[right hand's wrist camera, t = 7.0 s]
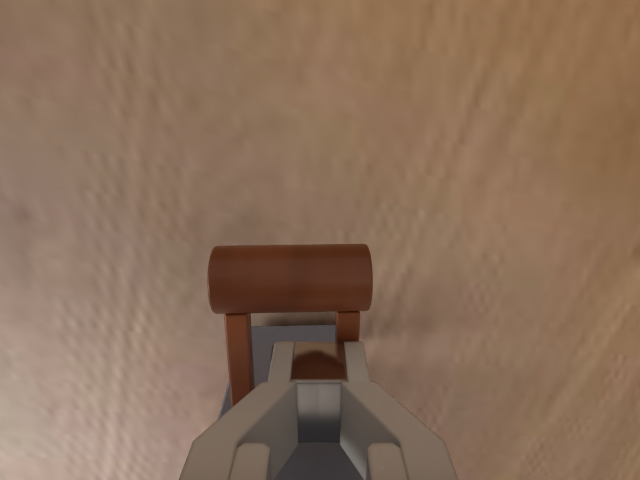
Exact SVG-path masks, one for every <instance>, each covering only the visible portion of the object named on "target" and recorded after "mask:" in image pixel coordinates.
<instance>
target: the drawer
mask: <svg viewBox="0 0 640 480" xmlns="http://www.w3.org/2000/svg"><path fill="white" fill-rule="evenodd" d="M372 290H373V275H372V262H371V255H370V251H369V248H368V246H367V245H366V244H325V245H247V246H216V247H214V248H213V250H212V252H211V255H210V259H209V265H208V297H209V302H210V306H211V309H212V311H213V312H214V313H216V314H225V316H224V320H225V332H226V344H227V357H228V369H229V383H228V386H227V389H226V393H225V396H224V400H223V403H222V407H221V410H220V413H219V417H218V419H219V418H221V417H222V416H223V415H224V414H225V413H226V412H228V411H229V410H230V409H231V408H232V407H233V406H235V405H236V404H237V403H238V402H239V401H240V400H242V399H243V398H244V397H245V396H246V395H247V394H249V393H250V392H251V391H252V390H253V389H254V388H255V387H257V386H258V385H259V384H260V383H261V382H268V376H269V371H270V365H271V360H272V355H273V349H274V344H275V343H276V341H294V342H295V341H302V342H348V341H359V328H360V312H359V311H367V310H369V308H370V306H371V301H372ZM283 312H335V325H298V326H251V315H250V313H283ZM274 480H364V479H363V477H362V476H361V475H360V473H359V472H358V470H357V469H356V467H355V466H354V464H353V463H352V461H351V460H350V458H349V457H348V456H347V454H346V453H345V451H344V450H343V448H342V447H341V445H340V443H331V442H307V443H298V446H297V447H296V449H295V450H294V452H293V453H292V455H291V456H290V457H289V459H288V460H287V462H286V463H285V465H284V466H283V468H282V469H281V470H280V472H279V473H278V475H277V476H276V478H275V479H274Z"/></svg>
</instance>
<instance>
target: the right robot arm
mask: <svg viewBox="0 0 640 480" xmlns="http://www.w3.org/2000/svg"><path fill="white" fill-rule="evenodd" d="M307 442H331V443H340V445H341V447H342V448H343V450H344V451H345V453H346V454H347V456H348V457H349V458H350V460H351V461H352V463H353V464H354V466H355V467H356V469H357V470H358V472H359V473H360V475H361V476H362V477H363V479H364V480H458V477H457V475H456V472H455V469H454V466H453V464H452V461H451V458H450V455H449V452H448V450H447V447H446V444H445V442H444V441H443V440H442V439H441V438H440V437H439V436H437V435H436V434H435V433H434V432H433V431H432V430H431V429H429V428H428V427H427V426H426V425H425V424H424V423H423V422H421V421H420V420H419V419H418V418H417V417H416V416H415V415H413V414H412V413H411V412H410V411H409V410H408V409H407V408H405V407H404V406H403V405H402V404H401V403H400V402H398V401H397V400H396V399H395V398H394V397H393V396H392V395H390V394H389V393H388V392H387V391H386V390H385V389H384V388H382V387H381V386H380V385H379V384H378V383H377V382H370V376H369V371H368V365H367V360H366V354H365V348H364V343H363V342H362V341H348V342H302V341H295V342H294V341H276V343H275V344H274V349H273V355H272V360H271V365H270V371H269V376H268V382H261V383H260V384H259V385H258V386H257V387H255V388H254V389H253V390H252V391H251V392H250V393H249V394H247V395H246V396H245V397H244V398H243V399H242V400H240V401H239V402H238V403H237V404H236V405H235V406H233V407H232V408H231V409H230V410H229V411H228V412H226V413H225V414H224V415H223V416H222V417H221V418H219V419H218V420H217V421H216V422H215V423H214V424H213V425H211V426H210V427H209V428H208V429H207V430H206V431H204V432H203V433H202V434H201V435H200V436H199V437H197V438H196V439H195V440H194V441H193V443H192V446H191V448H190V451H189V454H188V456H187V459H186V462H185V464H184V467H183V470H182V473H181V475H180V478H179V480H274V479H275V478H276V476H277V475H278V473H279V472H280V470H281V469H282V468H283V466H284V465H285V463H286V462H287V460H288V459H289V457H290V456H291V455H292V453H293V452H294V450H295V449H296V447H297V446H298V443H307Z"/></svg>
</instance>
